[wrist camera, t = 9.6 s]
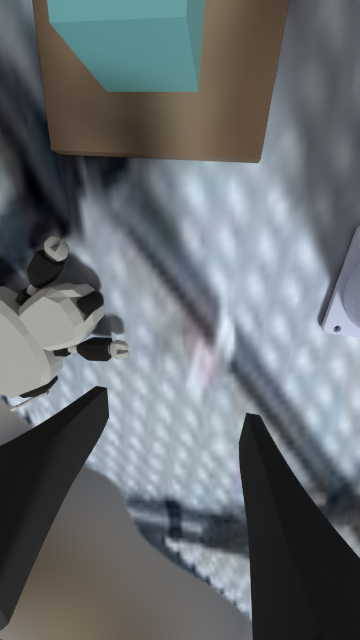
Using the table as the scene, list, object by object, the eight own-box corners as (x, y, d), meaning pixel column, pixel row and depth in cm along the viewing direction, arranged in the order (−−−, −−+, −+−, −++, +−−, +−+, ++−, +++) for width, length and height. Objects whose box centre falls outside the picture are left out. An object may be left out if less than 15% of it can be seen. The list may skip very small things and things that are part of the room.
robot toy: (76, 225, 19) (-41, 295, 23) (40, 222, 15) (-97, 309, 18) (144, 344, 22) (34, 389, 26) (131, 369, 18) (1, 419, 22)
